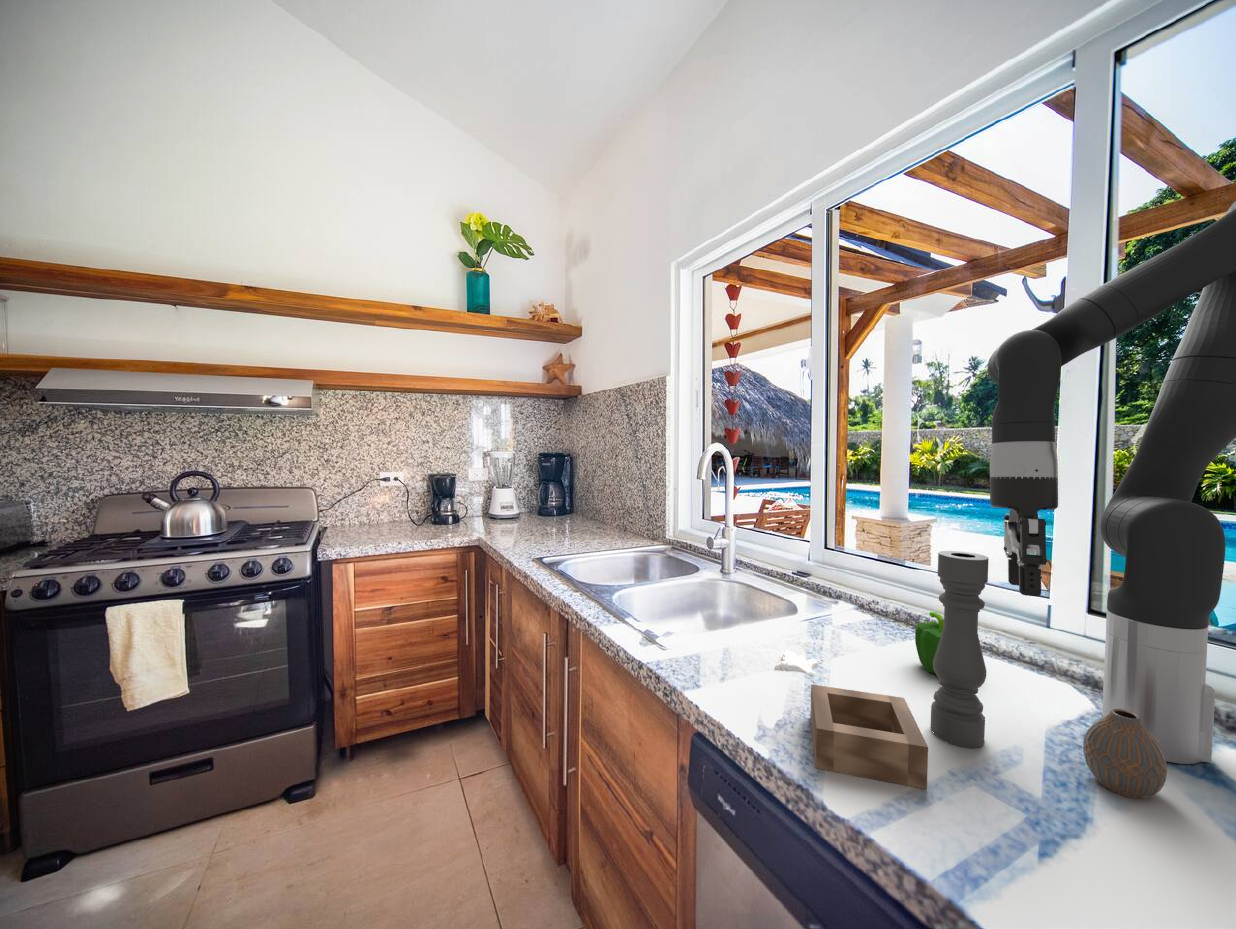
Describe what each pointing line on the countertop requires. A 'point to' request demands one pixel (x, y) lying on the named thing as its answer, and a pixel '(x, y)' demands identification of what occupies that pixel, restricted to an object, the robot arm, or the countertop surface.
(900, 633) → the countertop surface
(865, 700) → the socket block
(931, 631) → the bell pepper
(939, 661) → the candle holder
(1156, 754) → the vase
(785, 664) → the acanthus leaf ornament
